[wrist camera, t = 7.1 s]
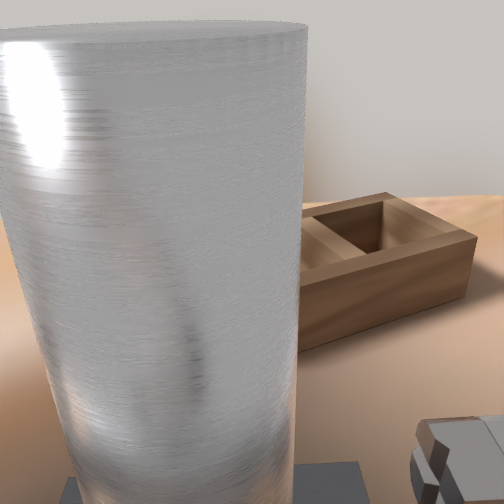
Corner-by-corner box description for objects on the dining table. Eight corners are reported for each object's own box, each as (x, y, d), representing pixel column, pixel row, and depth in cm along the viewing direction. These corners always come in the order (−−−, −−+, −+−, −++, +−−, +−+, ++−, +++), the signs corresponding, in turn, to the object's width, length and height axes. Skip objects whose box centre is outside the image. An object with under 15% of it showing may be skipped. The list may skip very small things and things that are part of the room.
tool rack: (464, 296, 29) (477, 236, 27) (238, 372, 24) (234, 304, 22) (379, 243, 36) (385, 192, 34) (185, 293, 30) (180, 235, 28)
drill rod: (124, 773, 12) (-152, 44, 4) (175, 607, 15) (75, 22, 7) (273, 819, 11) (278, 43, 3) (294, 635, 14) (321, 19, 6)
